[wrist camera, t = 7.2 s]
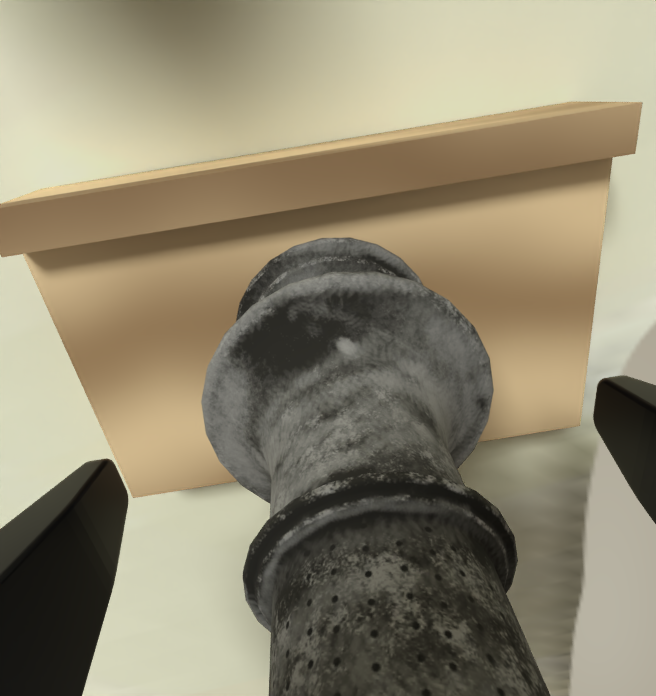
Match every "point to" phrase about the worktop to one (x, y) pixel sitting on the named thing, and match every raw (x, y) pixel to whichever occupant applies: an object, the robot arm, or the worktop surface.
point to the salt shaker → (366, 481)
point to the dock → (328, 222)
